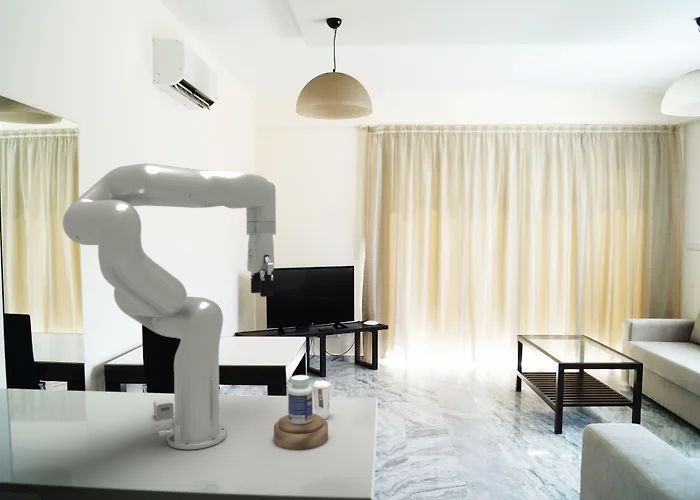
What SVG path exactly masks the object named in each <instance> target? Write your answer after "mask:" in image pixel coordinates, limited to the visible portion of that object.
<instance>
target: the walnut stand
mask: <svg viewBox="0 0 700 500" xmlns="http://www.w3.org/2000/svg"><path fill="white" fill-rule="evenodd" d="M273 425H274V426H273V442H274V445H276V446H277V447H279V448H282V449H286V450H290V451H291V450H292V451H305V450H312V449H315V448H319V447H321V446H323V445H324V444H325V443H327V441H328V440H329V439H328V438H329V423H328V421H327V420H326V419H323V418H322V417H321V416H319V415H316V414H315V413H313V414H312V421H311V422H309V423H307V424H292V423H290V422H289V415H288V414H286V415H285V416H282V417H281V418H279V420H277V422H275V424H273Z"/></svg>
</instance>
